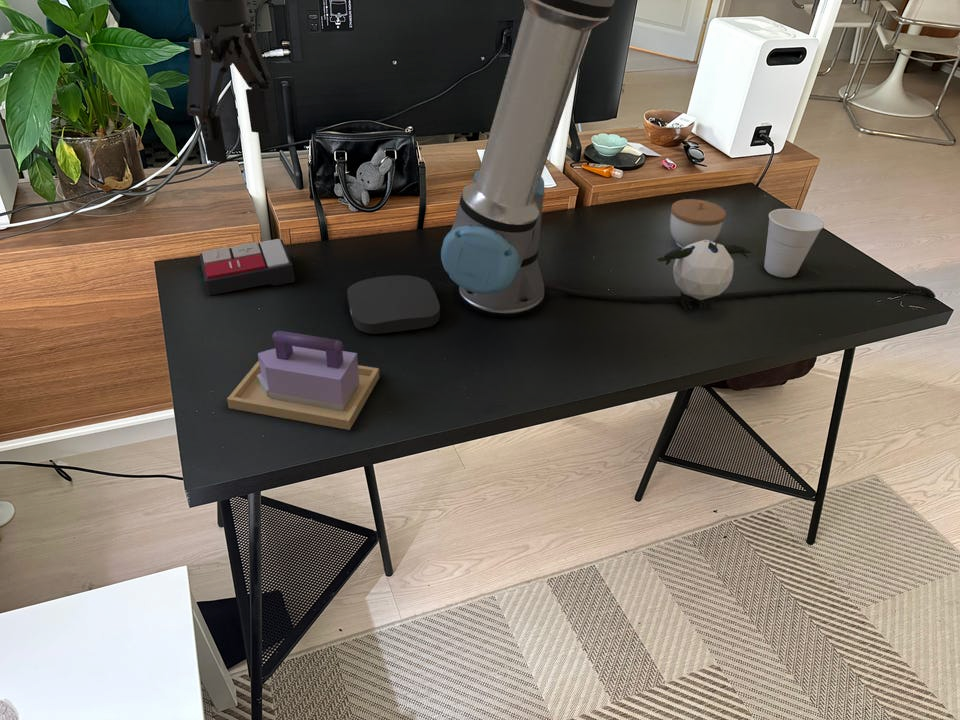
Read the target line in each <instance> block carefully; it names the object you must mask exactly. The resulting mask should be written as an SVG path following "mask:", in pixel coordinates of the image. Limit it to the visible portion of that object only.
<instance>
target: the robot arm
mask: <svg viewBox="0 0 960 720" xmlns="http://www.w3.org/2000/svg"><path fill="white" fill-rule="evenodd" d="M187 1H188V7H189V13H190V19H191V22H193V23H194V24H195V25H197V26H199V28H201V38H197V37H189V38H188V49H189V68H188V69H189V70H188V85H187V86H188V87H187V101H186V113H187V115H188V116H193V117H197V118H198V119H199V125H200V130H201V135H202V139H203V143H204V149H205V154H206V159H207V161H208V162H216V163H227V162H228V158H227V157H228V156H227V150H226V144H225V139H224V133H223V127H222V121H221V116H220V115H218V114H217V109H218V104H219V101H220V100H219V99H220V94H221V90H222V84H223V80H224V75H225V73H227V72H228V71H229V67H230V66H232V65H233V66H234V67H235V68H236V70H237V72H238V73H239V75H240V76H241V78H242V79H243V81H244V83H245V84H246V85H247V87H248V88H247V89H245V96H246V104H247V109H248V117H249V124H250V131H251V133H256V134H257V133H258V134H265V135H266V134H267V135H268V134H269V133H270V126H269V119H268V112H267V111H268V110H267V103H266V96H265V90H268V91H269V90H270V89H271V82H270V81H271V75H270V74H271V73H270V71H269V69H268V67H267V64H266V61H265V59H264V57H263V53H262V51H261V48H260V46H259V44H258V40H257V37H256V34H255V28H254V24H253V22H252V21H249V13H248V5H247V0H187ZM615 1H616V0H522V2H523V4H524V11H523V14H522V18H521V21H520V25H519V28H518V32H517V36H516V39H515V42H514V46H513V49H512V53H511V57H510V60H509V64H508V67H507V71H506V74H505V77H504V81H503V85H502V88H501V92H500V94H499V99H498V103H497V106H496V110H495V113H494V117H493V120H492V123H491V127H490V130H489V134H488V138H487V142H486V145H485V148H484V151H483V155H482V158H481V159H482V160H481V161H480V162H481V163H480V167H479V169H478V170H477V171H476V172H475V173H474V175H473V179H472V182H470V183H468V184H466V185H464V187H463V189H462V191H461V195H460V199H459V202H458V205H457V209H456V212H455V216H454V220H453V224H452V227H451V228H450V231H449V232H448V233H447V234H446V236H444V238H443V241H442V246H441V250H440V260H441V264H442V266H443V269H444V271H445V272H446V273H447V275H448V276H449V278H450V279H451V280H452V282H454V283H455V284H456V285H457V286H458V298H459V300H460V301H461V303H462V304H463V305H464V306H465V307H466V308H468V309H470V310H471V311H473V312H474V313H477V314H480V315H484V316H487V317H493V318H505V319H507V318H508V319H509V318H519V317H523V316H526V315H529V314H531V313H534V312H535V311H537V310H538V309H540V308H541V307H542V305H543V303H544V301H545V291H546V290H549V291H554V292H558V293H559V292H560V293H563V294H566V295H567V294H568V295H572V296H577V297H585V298H591V299H598V300H599V299H600V300H610V301H621V302H623V301H625V302H680V301H681V295H626V294H612V293H602V292H601V293H600V292H593V291H584V290H579V289H573V288H569V287H564V286H560V285H555V284H550V283H545V282H544V280H543V275H542V272H541V267H540V264H539V259H538V257H539V249H540V236H541V226H542V216H543V205H544V197H546V193H545V180H544V178H543V177H542V175H543V172H544V169H545V166H546V164H547V161H548V159H549V155H550V151H551V148H552V146H553V143H554V139H555V137H556V135H557V132H558V128H559V125H560V122H561V120H562V116H563V114H564V111H565V108H566V106H567V102H568V99H569V96H570V94H571V91H572V87H573V85H574V82H575V79H576V77H577V73H578V70H579V67H580V64H581V61H582V57H583V55H584V52H585V50H586V47H587V43H588V41H589V37H590V35H591V33H592V30H593V29H594V28H595V27H598V26H599V25H600V24H603V23H604V22H607V20H608V19H609V17H610V14H611V12H612V10H613V7H614V3H615ZM216 114H217V115H216ZM917 288H918V289H917ZM919 289H920V290H921V291H920V290H919ZM815 291H817V292H819V291H890V292H909V291H910V292H922V293H925V294H926V295H927V296H928V295H929V296H928V297H929V298H933V299H934V298H936V294H935V292H933V290H931V289H930V288H929V287H926V286H922V285H890V284H889V285H886V284H821V285H802V286H789V287H778V288H776V287H775V288H767V289H755V290H747V291H745V290H744V291H734V292H733V291H732V292H722V293H721V294H720V295H718V296H714V297H710V298H707V299H703V301H709V300H710V301H711V300H723V299H735V298H744V297H757V296H765V295H766V296H767V295H776V294H777V295H778V294H789V293H801V292H815ZM930 296H931V297H930ZM695 299H696V298H694V297H691V296H690V299H689V302H693V301H694V300H695Z"/></svg>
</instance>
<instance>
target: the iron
mask: <svg viewBox="0 0 960 720" xmlns="http://www.w3.org/2000/svg"><path fill="white" fill-rule="evenodd" d="M271 338H272V341H273V342H274V343H273V344H274V348H271V349H267V350H264V351H260V352H258V353H257V358H258V361H259V364H260V370H261V374H258V375H257V379H258V382H259V384H260V385H261V387H262V389H263V390H264V392H265V393H266V395H267V397H268V396H270V399H275V400H281V401H287V402H292V403H298V404H304V405H309V406H315V407H320V408H326V409H332V410H337V411H344V409H345V408H346V406H347V404H348V403H349V401H350V399H351V398H352V396H353V394H354V393H355V391H356V389H357V388H358V386H359V372H358V365H359V360H358V353H357V352H351V351H345V350H343V349H344V344H343V342H342V341H341V340H339V339H334V338H328V337H321V336H315V335H308V334H303V333H297V332H290V331H284V330H275V331H274V332H273V333H272V337H271Z"/></svg>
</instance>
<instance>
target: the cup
mask: <svg viewBox="0 0 960 720" xmlns="http://www.w3.org/2000/svg"><path fill="white" fill-rule="evenodd" d="M824 227H825V223H824V221H823V220H822V219H821V218H820V217H819V216H818V215H815V214H813V213H812V212H811V213H810V212H807V211H804V210H800V209H796V208H795V209H794V208H776V209H774V210H772V211H770V212H769V213H768V227H767V236H766V237H767V238H766V244H765V245H766V247H765V253H764V254H765V256H764V263H763V268H764V270H765V271H766V272H767V273H768V274H769V275H772V276H774V277H776V278H777V277H778V278H784V279H785V278H786V279H787V278H792V277H794V276H796V275H797V274H798V272H799V270H800V269H801V267H802V265H803V262H805V259H806V257H807V255H808V254H809V252H810V250H811V248H812V246H813V244H814V243H815V241H816V239H817V238H818V236H819V234H820V232H821V230H822V229H823V228H824Z"/></svg>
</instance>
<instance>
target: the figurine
mask: <svg viewBox="0 0 960 720" xmlns="http://www.w3.org/2000/svg"><path fill="white" fill-rule="evenodd" d="M753 253H754V251H751V250H750V249H747V248H746V247H744V246H742V245H739V244H734V243H731V244H721V243H719V241H718V240H716V242H715V241H714V242H711V241H708V240H702V241H699V242H696V243H692V244H690V245H687V246H686V247H685V248H681V249H680V248H675V249H672V250H669V252H667V253H665V254H664V255H663V256H660V257H658V258H656V260H657V261H658V262H665V265H666V266H668V265H669V264H670V263H671V262H672V260H675V261H674V262H673V263H674V264H673V266H672V274H673V279H674V282H675V285H676V286H677V288H678V289H679V290H680V296H681V301H679V303H680V305H681V306H682V309H683V310H684V311H692V310H693V307H692V305H691V303H689V302H690V301H689V299H690V296H691V297H694V298H696V299H695V300H693V301H694V303H695V304H696V306H697V307H698V308H699V309H707V308H708V306H707V304H706V303H705V301H704V300H703V299H707V298H710V297H714V296H718V295H720V294H721V293H724V291H726V289H728V288H729V286H730V284H731V282H732V280H733V275H734V260H733V258H732V256H731V255H733V254H734V255H735V254H740V255H742V256H743V257H744V258H745V257H746V258H748V257H749V256H748V254H753Z"/></svg>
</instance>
